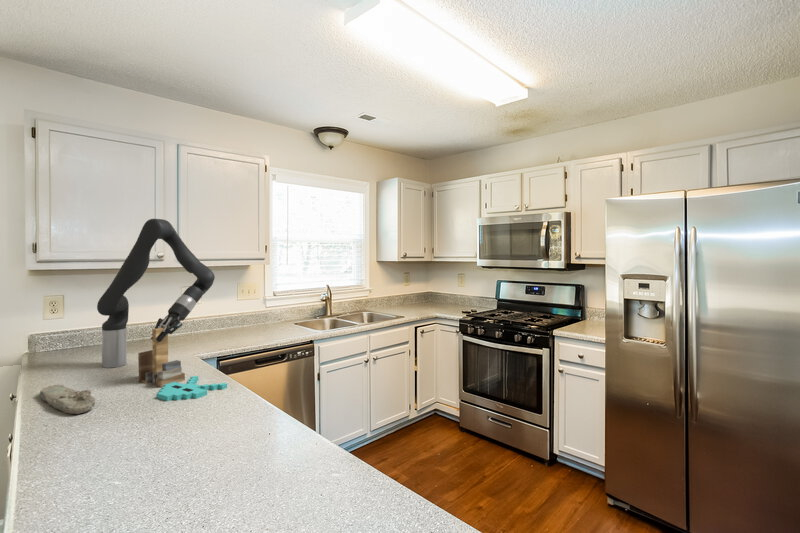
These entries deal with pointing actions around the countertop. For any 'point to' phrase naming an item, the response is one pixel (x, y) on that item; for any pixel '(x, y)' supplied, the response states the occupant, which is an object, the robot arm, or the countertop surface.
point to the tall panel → (159, 350)
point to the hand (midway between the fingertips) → (155, 340)
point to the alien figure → (187, 390)
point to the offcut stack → (170, 373)
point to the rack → (146, 367)
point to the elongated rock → (68, 399)
